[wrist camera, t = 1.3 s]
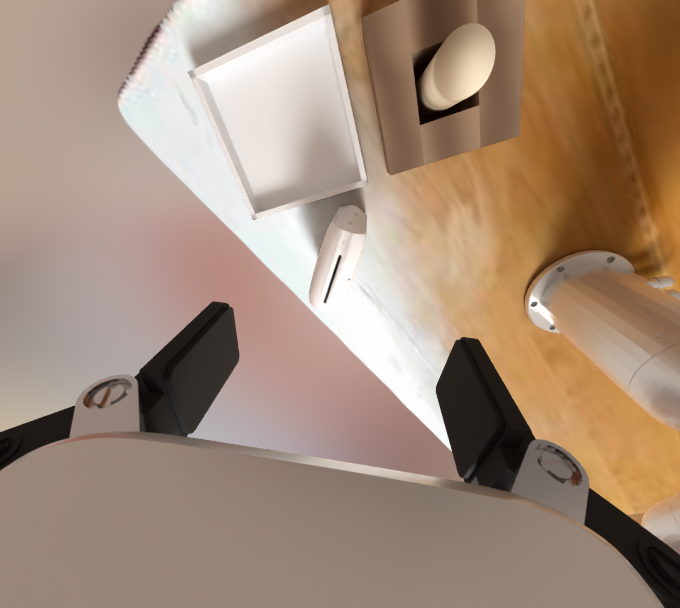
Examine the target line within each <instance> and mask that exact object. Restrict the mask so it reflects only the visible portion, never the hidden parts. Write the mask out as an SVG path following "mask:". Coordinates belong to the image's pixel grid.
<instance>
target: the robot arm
mask: <svg viewBox="0 0 680 608" xmlns="http://www.w3.org/2000/svg"><path fill="white" fill-rule="evenodd" d="M672 285H673V279H672V278H671V277H670V276H662V277H656V278H652V279H646V278H644V277H641V276H639V275H637V274H635V271H634V268H633V266H632V265H631V263H630V262H629V261H628V260H627V259H625V258H624V257H622V256H620V255H618V254H615V253H612V252H609V251H604V250H587V251H582V252H577V253H574V254H571V255H568V256H565V257H564V258H562V259H560V260H558V261H556V262H554V263H553V264H551V265H550V266H548V267H547V268H546V269H544V270H543V271H542V272H541V273H540V274H539V275H538V276H537V277H536V278H535V280H534V281H533V282H532V284H531V285H530V287H529V289H528V291H527V294H526V296H525V303H524V304H525V311H526V313H527V316H528V317H529V318H530V320H531V321H532V322H533V323H534V324H535V325H537V326H538V327H540V328H541V329H543V330H546V331H549V332H555V333H562V334H563V335H564V336H565V337H566V338H567V339H568V340H569V341H570V342H572V343H573V344H574V345H575V346H576V347H577V348H578V349H579V350H580V351H581V352H582V353H583V354H584V355H585V356H586V357H588V358H589V359H590V360H591V361H592V362H593V363H594V364H595V365H596V366H597V367H598V368H599V369H600V370H601V371H602V372H604V373H605V374H606V375H607V376H608V377H609V378H610V379H611V380H612V381H613V382H614V383H615V384H616V385H617V386H618V387H619V388H621V389H622V390H623V391H624V392H625V393H626V394H627V395H628V396H629V397H630V398H631V399H632V400H633V401H634V402H636V403H637V404H638V405H639V406H640V407H641V408H642V409H643V410H644V411H645V412H647V413H648V414H649V415H650V416H651V417H653V418H654V419H656V420H657V421H659V422H660V423H662V424H664V425H666V426H668V427H669V428H671V429H673V430H676V431H678V432H680V293H679V292H677V291H676V290H673V289H670V290H664V291H661V290H659V289H658V288H664V287H669V286H672ZM238 361H239V350H238V341H237V334H236V327H235V319H234V312H233V308H232V307H230V306H229V304H227V303H222V302H212V303H211V304H209V305H208V306H207V307H206V308H205V309H204V310H203V311H202V312H201V313H200V314H199V315H198V316H197V317H196V318H195V319H194V320H192V321H191V322H190V323H189V324H188V325H187V326H186V327H185V328H184V329H183V330H182V331H181V332H180V333H179V334H178V335H177V336H176V337H175V338H173V340H171V341H170V342H169V343H168V344H167V345H166V346H165V347H164V348H163V349H162V350H161V351H160V352H158V354H156V355H155V356H154V357H153V358H152V359H151V360H150V361H149V362H148V363H147V364H146V365H145V366H144V367H143V368H141V369H140V372H139V373H138V374H137V375H136V376H135V377H133V376H129V375H116V376H111V377H108V378H105V379H102V380H100V381H98V382H96V383H94V384H92V385H91V386H90V387H88V388H87V389H85V390H84V391H83V392H82V394H81V395H80V396H79V397H78V399H77V402H76V405H75V406H72V407H69V408H67V409H64V410H61V411H58V412H55V413H53V414H50V415H47V416H44V417H41V418H39V419H36V420H33V421H30V422H28V423H25V424H22V425H19V426H16V427H14V428H11V429H8V430H5V431H3V432H0V608H680V492H679V493H677V494H675V495H672V496H670V497H668V498H666V499H664V500H662V501H660V502H658V503H656V504H654V505H653V506H651V507H650V508H649V509H648V510H647V511H646V512H645V513H644V516H643V518H642V521H641V522H642V523H641V525H640V524H638V523H637V522H636V521H634V520H633V519H631V518H630V517H629V516H627V515H626V514H625V513H623V512H622V511H621V510H619V509H618V508H616V507H615V506H614V505H612V504H611V503H610V502H608V501H607V500H606V499H604V498H603V497H601V496H600V495H599V494H597V493H596V492H595V491H593V490H592V489H590V488H589V478H588V476H587V474H586V472H585V470H584V468H583V467H582V466H581V464H580V463H579V462H578V461H577V460H576V459H575V458H574V457H573V456H572V455H571V454H570V453H569V452H567V451H566V450H565V449H563V448H562V447H560V446H558V445H556V444H555V443H553V442H550V441H547V440H540V439H537V440H536V439H535V437H534V435H533V434H532V431H531V429H530V427H529V426H528V424H527V422H526V421H525V419H524V417H523V415H522V414H521V412H520V410H519V408H518V407H517V405H516V403H515V402H514V400H513V398H512V396H511V395H510V393H509V391H508V389H507V388H506V386H505V384H504V383H503V381H502V379H501V377H500V376H499V374H498V372H497V371H496V369H495V367H494V365H493V364H492V362H491V360H490V358H489V357H488V355H487V353H486V352H485V350H484V348H483V346H482V345H481V343H480V341H479V340H478V339H473V338H466V337H462V338H461V339H460V340H456V341H455V343H454V346H453V348H452V350H451V353H450V355H449V357H448V360H447V362H446V364H445V367H444V369H443V371H442V374H441V376H440V378H439V381H438V383H437V386H436V394H437V398H438V402H439V405H440V409H441V413H442V416H443V420H444V424H445V427H446V431H447V435H448V438H449V442H450V445H451V449H452V453H453V456H454V460H455V464H456V467H457V471H458V474H459V476H460V477H461V478H464V482H465V483H464V482H459V481H453V480H448V479H443V478H437V477H431V476H426V475H420V474H414V473H407V472H401V471H396V470H390V469H384V468H378V467H372V466H366V465H360V464H354V463H348V462H342V461H335V460H329V459H323V458H317V457H311V456H304V455H299V454H293V453H286V452H280V451H274V450H268V449H261V448H255V447H248V446H242V445H235V444H229V443H223V442H216V441H210V440H204V439H197V438H189V437H187V436H188V434H191V433H193V432H194V431H195V430H196V428H197V426H198V425H199V423H200V422H201V420H202V419H203V417H204V415H205V414H206V412H207V411H208V409H209V407H210V406H211V404H212V403H213V401H214V400H215V398H216V396H217V395H218V393H219V392H220V390H221V388H222V387H223V385H224V384H225V382H226V380H227V379H228V377H229V376H230V374H231V373H232V371H233V369H234V368H235V366H236V365H237V363H238Z"/></svg>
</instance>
